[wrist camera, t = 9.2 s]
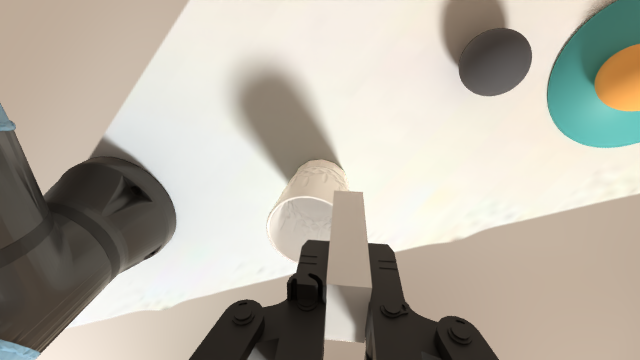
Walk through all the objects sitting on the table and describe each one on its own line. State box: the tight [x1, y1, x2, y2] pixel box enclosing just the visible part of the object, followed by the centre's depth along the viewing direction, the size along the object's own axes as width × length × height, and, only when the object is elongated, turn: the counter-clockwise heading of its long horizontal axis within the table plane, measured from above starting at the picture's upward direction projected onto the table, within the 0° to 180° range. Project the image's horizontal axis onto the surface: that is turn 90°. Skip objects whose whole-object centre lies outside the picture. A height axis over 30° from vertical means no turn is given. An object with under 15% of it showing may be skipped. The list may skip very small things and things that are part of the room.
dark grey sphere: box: [459, 28, 532, 96], centre depth 26 cm, size 6×6×6 cm
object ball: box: [595, 44, 640, 111], centre depth 25 cm, size 6×6×6 cm
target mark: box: [547, 0, 640, 148], centre depth 28 cm, size 14×14×1 cm
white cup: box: [267, 159, 349, 264], centre depth 32 cm, size 8×8×10 cm
